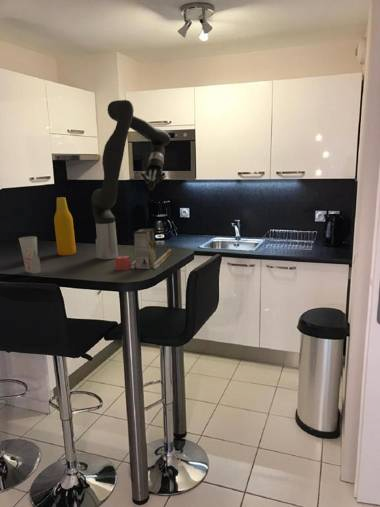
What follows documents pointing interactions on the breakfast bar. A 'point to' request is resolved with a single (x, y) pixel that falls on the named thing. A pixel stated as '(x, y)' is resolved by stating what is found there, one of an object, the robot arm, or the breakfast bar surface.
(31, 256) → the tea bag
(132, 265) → the game track
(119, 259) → the red die
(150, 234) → the coffee box
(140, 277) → the breakfast bar surface
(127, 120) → the robot arm
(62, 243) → the beer bottle
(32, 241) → the cup
